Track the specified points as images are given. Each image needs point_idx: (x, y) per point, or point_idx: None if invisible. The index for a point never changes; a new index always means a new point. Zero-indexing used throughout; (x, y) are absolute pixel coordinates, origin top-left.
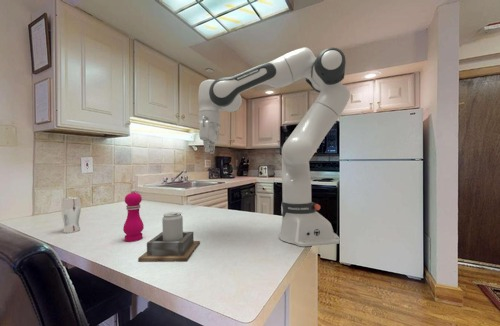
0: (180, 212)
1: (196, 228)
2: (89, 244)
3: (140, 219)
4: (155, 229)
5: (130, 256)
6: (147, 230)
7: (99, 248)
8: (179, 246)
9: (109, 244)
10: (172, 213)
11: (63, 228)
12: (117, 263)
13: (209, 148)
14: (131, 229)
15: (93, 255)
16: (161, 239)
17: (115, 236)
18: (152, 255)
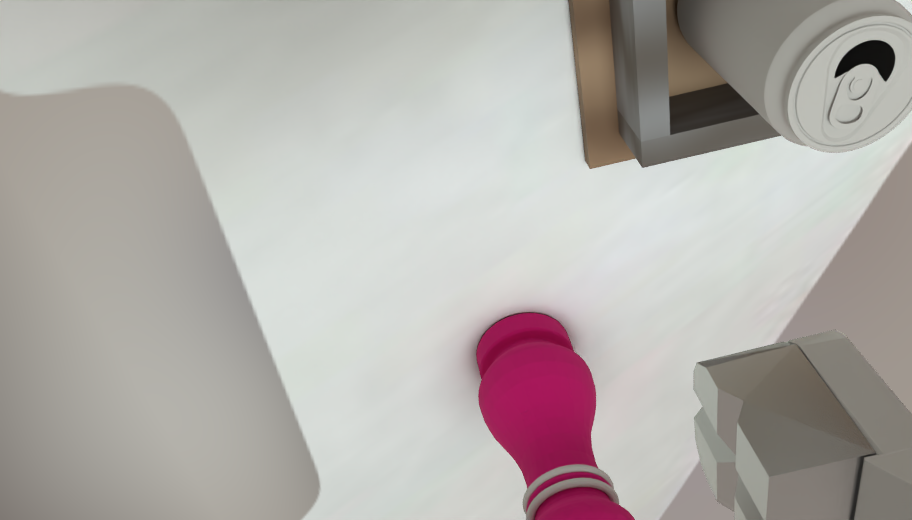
0: (817, 47)
1: (197, 105)
2: (619, 462)
3: (537, 404)
4: (319, 363)
5: (771, 184)
6: (353, 390)
7: (667, 388)
8: None
9: (613, 391)
10: (847, 94)
11: None
12: (849, 180)
13: (810, 443)
14: (589, 374)
15: (750, 344)
16: (712, 111)
17: (494, 455)
18: None
